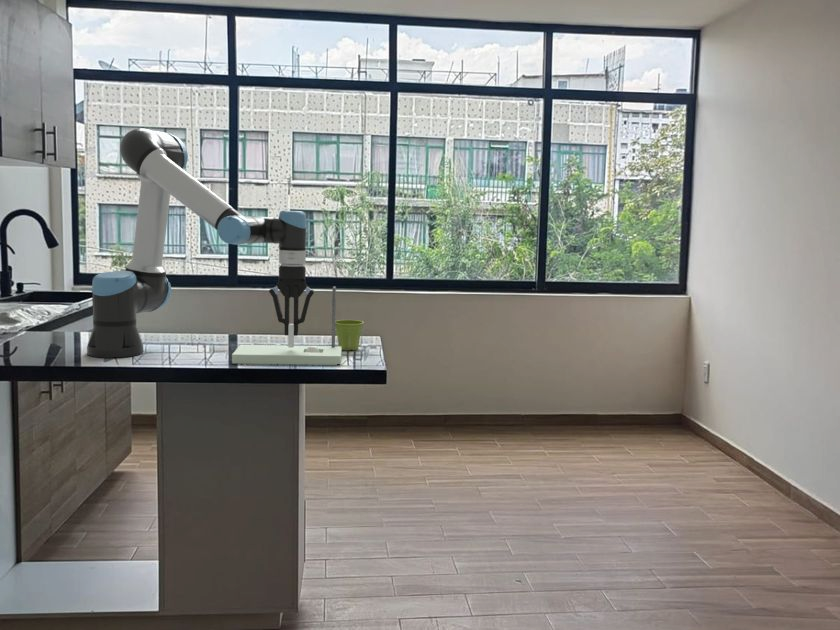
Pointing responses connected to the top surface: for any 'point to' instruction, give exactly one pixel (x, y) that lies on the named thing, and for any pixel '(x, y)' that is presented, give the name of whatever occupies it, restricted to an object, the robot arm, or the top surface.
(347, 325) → the plant pot
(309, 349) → the ball
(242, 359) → the green
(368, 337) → the top surface
